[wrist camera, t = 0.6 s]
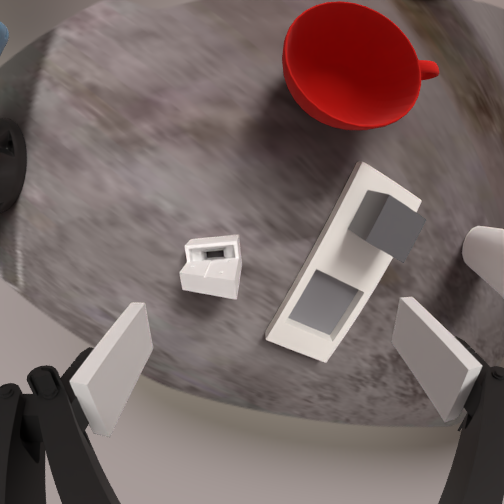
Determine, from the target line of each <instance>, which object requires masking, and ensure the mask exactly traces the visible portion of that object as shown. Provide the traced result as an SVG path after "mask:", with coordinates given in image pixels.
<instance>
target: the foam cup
mask: <svg viewBox="0 0 504 504" xmlns="http://www.w3.org/2000/svg"><path fill="white" fill-rule="evenodd" d="M462 255H463V259H464V262H465V263H466V264H467V265H468V266H469V267H470V268H471V269H472V270H473V271H474V272H475V273H477V274H478V275H479V276H480V277H481V278H482V279H483V280H485V281H486V282H487V283H488V284H489V285H490V286H491V287H492V288H493V289H494V290H496V291H497V292H498V293H499V294H500V295H501V296H502V297H503V298H504V229H500V228H492V227H484V226H477V227H474V228H472V229H471V230H470V231H469V233H468V234H467V235H466V237H465V240H464V242H463V248H462Z"/></svg>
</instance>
